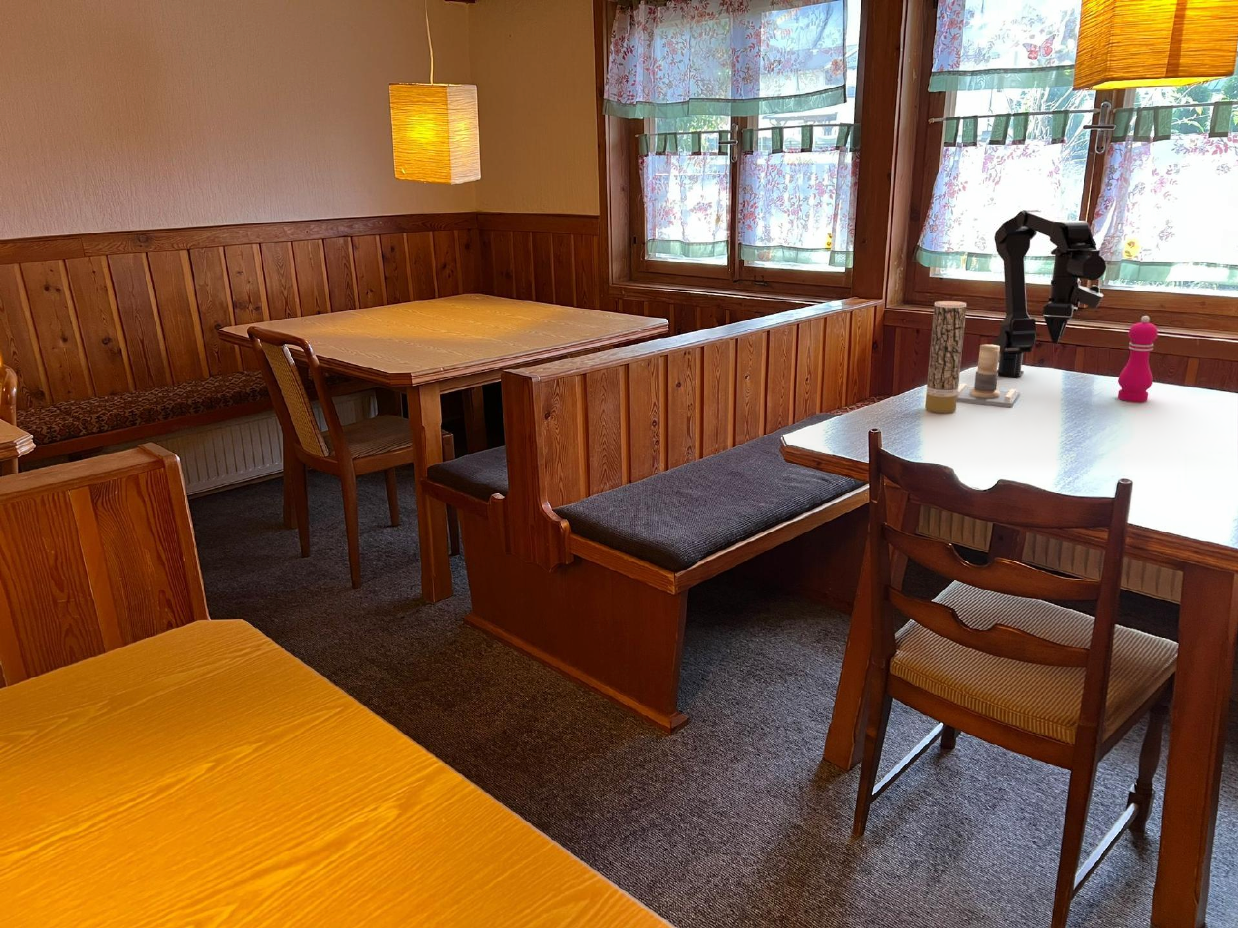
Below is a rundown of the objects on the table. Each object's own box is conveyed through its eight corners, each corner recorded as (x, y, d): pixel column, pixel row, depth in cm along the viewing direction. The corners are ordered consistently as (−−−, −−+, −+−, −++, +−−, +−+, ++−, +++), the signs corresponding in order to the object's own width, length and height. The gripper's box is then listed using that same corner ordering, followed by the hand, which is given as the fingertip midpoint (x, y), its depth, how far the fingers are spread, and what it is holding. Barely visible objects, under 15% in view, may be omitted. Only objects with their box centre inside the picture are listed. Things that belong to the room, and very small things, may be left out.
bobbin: (982, 390, 225) (988, 342, 221) (1005, 396, 219) (1011, 347, 216) (963, 394, 222) (968, 345, 218) (986, 399, 216) (992, 349, 212)
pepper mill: (1115, 400, 217) (1128, 317, 211) (1115, 393, 223) (1128, 312, 217) (1149, 403, 214) (1164, 319, 207) (1149, 396, 220) (1163, 314, 213)
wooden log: (959, 414, 209) (971, 305, 201) (930, 414, 209) (940, 306, 201) (950, 406, 215) (960, 300, 207) (921, 407, 215) (930, 301, 207)
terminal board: (960, 390, 230) (960, 381, 229) (1019, 396, 223) (1020, 387, 222) (949, 400, 220) (950, 392, 219) (1011, 407, 213) (1012, 398, 213)
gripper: (1100, 281, 206) (1090, 349, 211) (1106, 272, 221) (1097, 336, 226) (1046, 279, 211) (1038, 345, 216) (1056, 270, 226) (1048, 332, 231)
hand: (1057, 340), depth 222 cm, fingers open, 9 cm apart
